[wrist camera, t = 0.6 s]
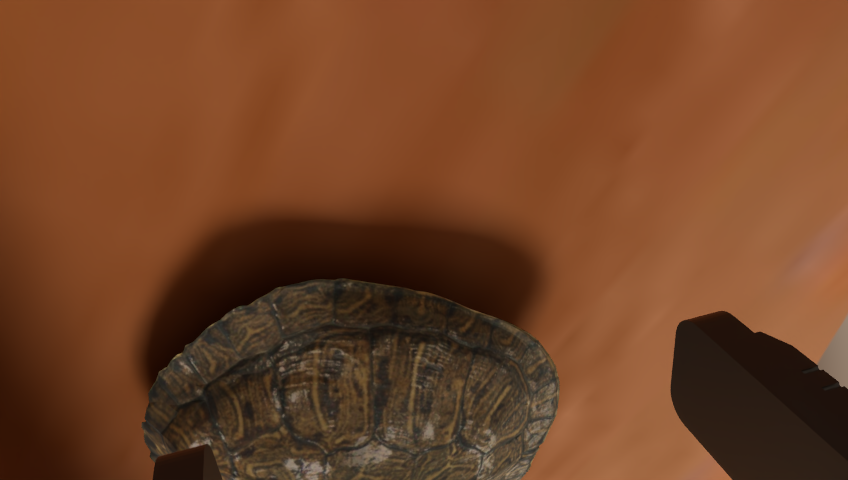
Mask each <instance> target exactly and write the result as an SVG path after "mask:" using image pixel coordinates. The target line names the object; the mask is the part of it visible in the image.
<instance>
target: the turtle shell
mask: <svg viewBox="0 0 848 480" xmlns="http://www.w3.org/2000/svg"><path fill="white" fill-rule="evenodd" d="M148 394H149V405H148V407H147V410H146V414H145V420H146V422H142V429H143V430H144V440H145V443H146V445H147V446H148V448H149V449H150V451H151V453H150V458H151V459H152V460H153V461H154V462H156V459H157V457H159V456H163V455H166V454H170V453H174V452H178V451H182V450H185V449H189V448H193V447H197V446H201V445H205V444H209V445H210V447H211V449H212V451H213V454H214V456H215V459H216V462H217V465H218V468H219V471H220V473H221V476H222V479H223V480H520V479H521V478H522V477H523V476H524V475H525V474H526V472H528V471H529V469H530V466H531V463H532V460H533V458H534V457H535V455H536V452H537V451H538V450H539V446H540V445H541V444H542V443H543V442H544V440H545V438H546V436H547V434H548V432H549V429H550V427H551V425H552V423H553V421H554V419H555V417H556V413H557V408H558V401H559V378H558V374H557V370H556V366H555V364H554V362H553V361H552V359H551V357H550V356H549V354H548V353H547V352H546V350H545V349H544V348H543V346H542V345H541V344H540V342H539V341H538V340H537V339H535V338H534V337H533V336H532V335H531V334H529V333H528V332H526V331H524V330H522V329H521V328H519V327H517V326H515V325H513V324H511V323H509V322H507V321H504V320H501V319H499V318H496V317H494V316H491V315H488V314H485V313H482V312H478V311H475V310H472V309H470V308H467V307H465V306H463V305H461V304H459V303H457V302H454V301H452V300H450V299H447V298H444V297H441V296H438V295H436V294H432V293H428V292H424V291H417V290H412V289H409V288H405V287H398V286H391V285H384V284H377V283H370V282H364V281H357V280H351V279H345V278H341V279H337V280H327V279H317V280H309V281H305V282H301V283H297V284H292V285H287V286H283V287H278V288H275V289H274V290H272V291H271V292H270V293H268V294H266V295H264V296H262V297H260V298H259V299H257V300H255V301H254V302H252V303H251V304H249V305H248V306H239V307H237V308H235V309H233V310H232V311H230V312H228V313H227V314H226V315H225V316H224V317H223V318H222V319H221V320H219V321H217V322H215V323H214V324H212V325H210V326H209V327H207V328H206V329H205V330H204V331H203V332H202V334H201V335H200V336H199V337H198V338H197V339H196V340H195V341H194V342H192V343H190V344H187V345H185V348H184V351H183V353H180V354H178V355H176V356H175V357H174V358H173V359H172V360H171V361H170V363H169V365H168V366H167V367H166V368H164V369H162V370H161V371H159V373H158V376H157V379H156V381H155V383H154V384H153V386H152V388H151V389H150V391H149V393H148Z"/></svg>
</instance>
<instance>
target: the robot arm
mask: <svg viewBox="0 0 848 480" xmlns="http://www.w3.org/2000/svg"><path fill="white" fill-rule="evenodd" d="M671 397H672V402H673V405H674V408H675V410H676V412H677V414H678V416H679V418H680V419H681V421H682V422H683V424H684V425H685V426H686V427H687V428H688V430H689V431H690V432H691V433H692V434H693V435H694V436H695V438H696V439H697V440H698V441H699V442H700V443H701V444H702V445H703V447H704V448H705V449H706V450H707V451H708V452H709V453H710V455H711V456H712V457H713V458H714V459H715V460H716V461H717V463H718V464H719V465H720V466H721V467H722V468H723V469H724V471H725V472H726V473H727V474H728V475H729V476H730V477H731V479H732V480H848V389H847V388H846V387H841V386H840V385H839V382H838V381H837V380H836V379H834V378H833V377H832V376H830V375H829V374H828V373H827V372H825V371H824V370H819V369H818V365H816V364H815V363H814V362H813V361H811V360H810V359H809V358H807V357H806V356H805V355H804V354H802V353H801V352H800V351H798V350H797V349H796V348H795V347H793V346H792V345H789V344H787V343H785V342H783V341H780V340H778V339H776V338H774V337H771V336H769V335H767V334H765V333H762V332H757V333H754V332H752V331H751V330H750V329H749V328H748V327H746V326H745V325H744V324H743V323H741V322H740V321H739V320H738V319H736V318H735V317H734V316H733V315H731V314H730V313H728V312H725V311H718V312H715V313H711V314H707V315H703V316H699V317H695V318H692V319H688V320H684V321H682V322H680V323H679V325H678V327H677V330H676V338H675V348H674V358H673V368H672V378H671ZM153 480H223V479H222V476H221V473H220V471H219V468H218V465H217V462H216V459H215V456H214V454H213V451H212V449H211V447H210V445H209V444H205V445H201V446H197V447H193V448H189V449H185V450H182V451H178V452H174V453H170V454H166V455H163V456H159V457H157V459H156V462H155V467H154V474H153Z"/></svg>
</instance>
